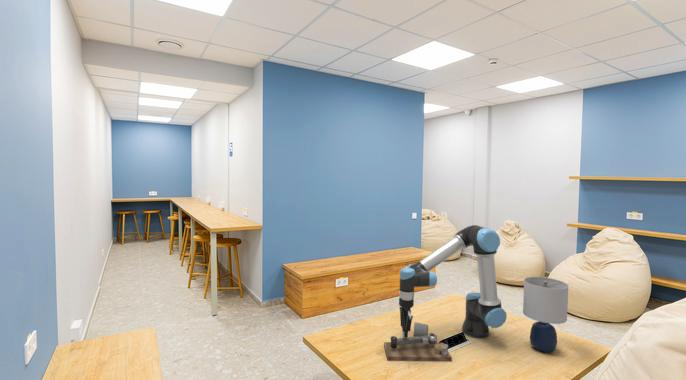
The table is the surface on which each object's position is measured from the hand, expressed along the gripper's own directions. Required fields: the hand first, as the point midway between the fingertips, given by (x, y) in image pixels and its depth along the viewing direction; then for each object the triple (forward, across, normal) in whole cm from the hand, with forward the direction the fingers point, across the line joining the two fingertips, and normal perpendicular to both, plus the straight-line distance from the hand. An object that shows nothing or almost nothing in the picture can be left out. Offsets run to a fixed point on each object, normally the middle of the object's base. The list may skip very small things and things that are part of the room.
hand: (404, 342), depth 185 cm
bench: (+5, +4, +5) cm, 8 cm away
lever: (+1, +2, +4) cm, 5 cm away
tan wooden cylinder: (+2, +8, +15) cm, 17 cm away
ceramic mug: (+5, -15, +15) cm, 22 cm away
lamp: (+4, +11, +74) cm, 75 cm away
